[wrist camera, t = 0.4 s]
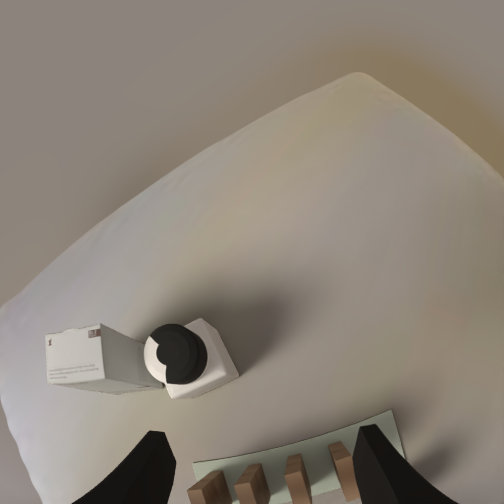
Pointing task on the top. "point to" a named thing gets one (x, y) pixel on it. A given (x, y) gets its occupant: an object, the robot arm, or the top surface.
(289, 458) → the domino
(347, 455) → the domino
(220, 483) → the domino
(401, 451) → the domino mat
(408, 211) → the top surface
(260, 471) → the domino
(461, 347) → the top surface
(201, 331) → the medicine bottle
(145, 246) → the top surface
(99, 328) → the skincare box
